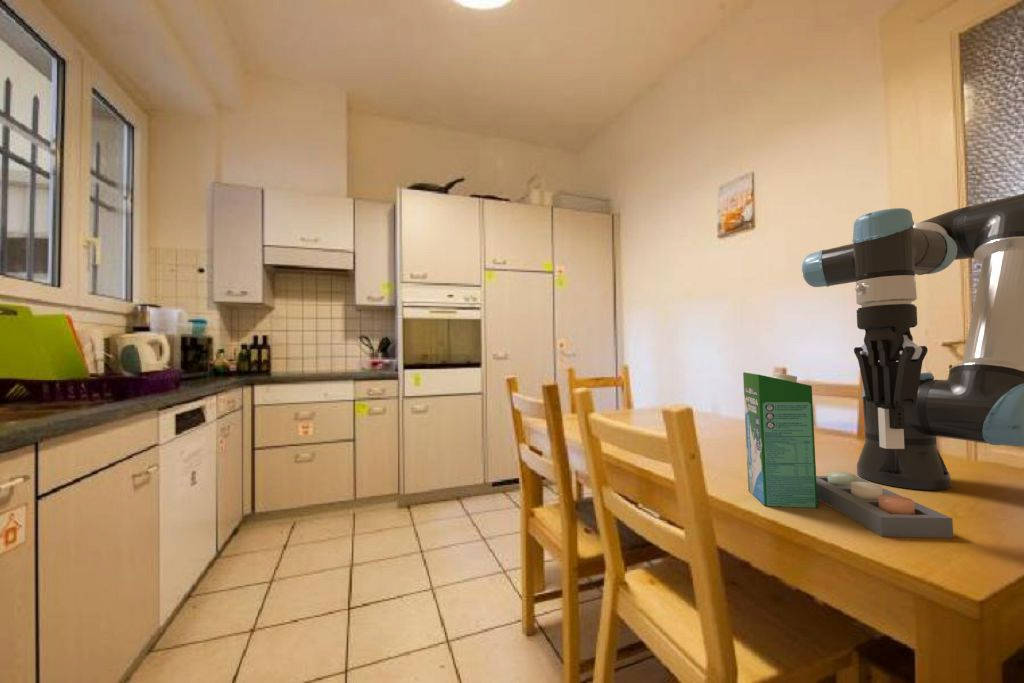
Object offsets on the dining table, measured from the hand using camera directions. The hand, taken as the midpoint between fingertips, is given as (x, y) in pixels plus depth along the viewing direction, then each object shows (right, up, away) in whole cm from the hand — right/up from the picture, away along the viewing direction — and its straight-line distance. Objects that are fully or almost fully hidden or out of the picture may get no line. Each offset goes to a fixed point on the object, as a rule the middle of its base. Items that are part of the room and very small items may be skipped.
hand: (891, 447), depth 70 cm
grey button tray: (+2, -13, +7) cm, 15 cm away
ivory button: (+2, -12, +7) cm, 13 cm away
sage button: (+2, -12, +14) cm, 18 cm away
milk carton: (-9, -14, +14) cm, 22 cm away
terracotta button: (+1, -11, 0) cm, 11 cm away
